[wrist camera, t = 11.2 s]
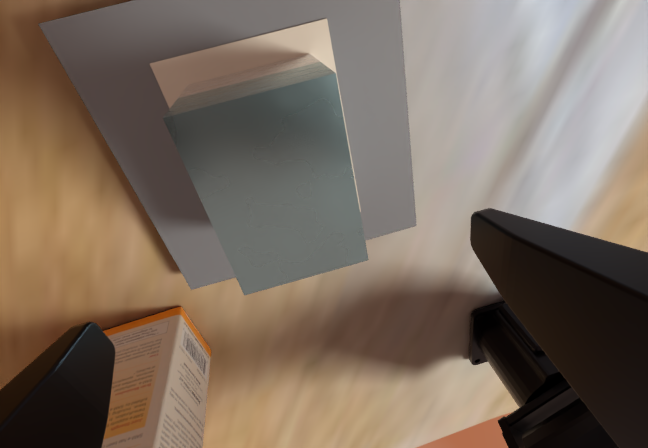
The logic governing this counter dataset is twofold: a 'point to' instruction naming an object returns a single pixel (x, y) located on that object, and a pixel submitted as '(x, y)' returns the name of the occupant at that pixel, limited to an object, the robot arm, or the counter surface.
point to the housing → (272, 170)
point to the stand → (226, 58)
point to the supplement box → (158, 383)
